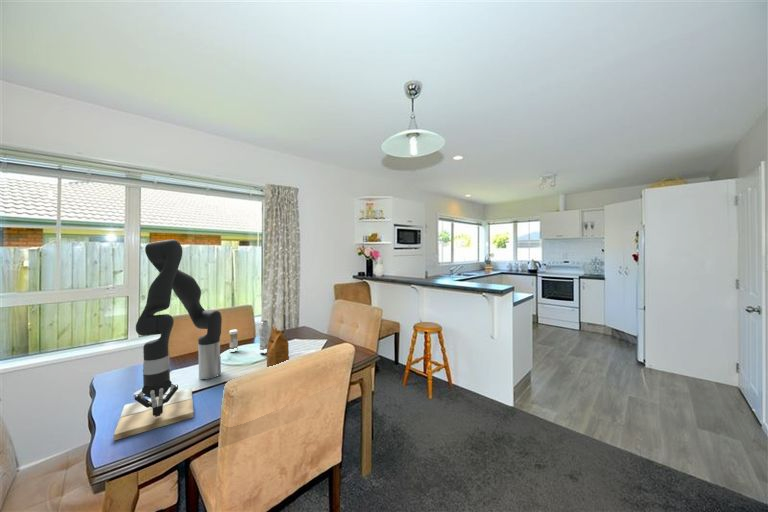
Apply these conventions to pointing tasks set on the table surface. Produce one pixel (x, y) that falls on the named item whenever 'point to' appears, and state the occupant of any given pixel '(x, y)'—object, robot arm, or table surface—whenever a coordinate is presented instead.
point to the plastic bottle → (264, 335)
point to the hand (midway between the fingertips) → (157, 415)
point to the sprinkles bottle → (233, 339)
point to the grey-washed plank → (137, 407)
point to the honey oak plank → (153, 419)
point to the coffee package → (277, 348)
